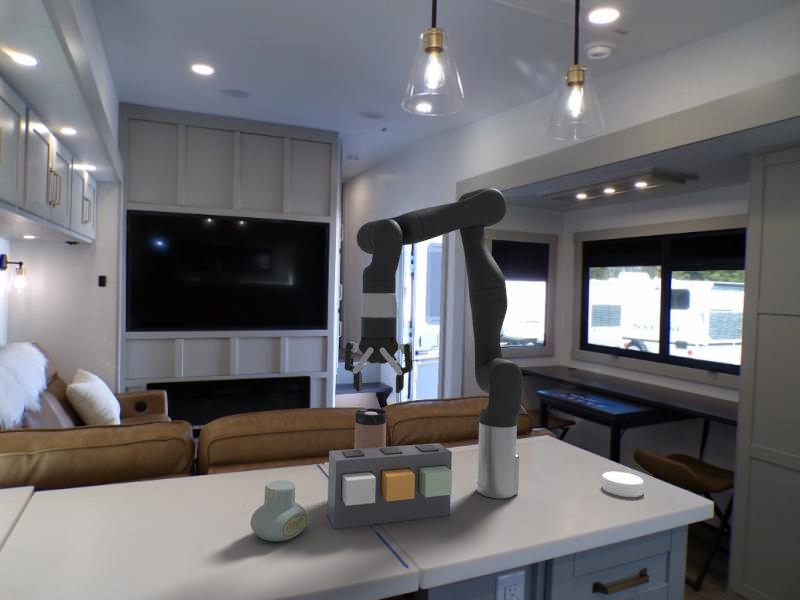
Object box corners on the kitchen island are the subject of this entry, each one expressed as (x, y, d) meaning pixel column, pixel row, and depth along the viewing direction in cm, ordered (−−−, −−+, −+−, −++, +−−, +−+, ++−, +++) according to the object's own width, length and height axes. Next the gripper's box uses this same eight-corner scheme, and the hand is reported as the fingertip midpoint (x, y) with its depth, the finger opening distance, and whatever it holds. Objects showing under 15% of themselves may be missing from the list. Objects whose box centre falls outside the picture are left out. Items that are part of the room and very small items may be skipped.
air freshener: (273, 552, 95) (275, 498, 95) (242, 540, 99) (244, 488, 99) (313, 530, 104) (314, 481, 104) (283, 520, 108) (284, 473, 108)
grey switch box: (437, 503, 120) (439, 441, 120) (449, 515, 113) (451, 450, 113) (327, 515, 111) (329, 449, 111) (334, 529, 105) (336, 459, 105)
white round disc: (601, 494, 130) (601, 480, 130) (601, 481, 139) (602, 468, 139) (644, 501, 126) (645, 486, 126) (642, 487, 135) (642, 474, 135)
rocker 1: (365, 490, 111) (366, 467, 111) (375, 502, 104) (375, 478, 104) (338, 492, 109) (339, 469, 109) (346, 505, 102) (346, 480, 102)
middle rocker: (402, 486, 113) (403, 464, 113) (414, 498, 107) (414, 474, 107) (376, 489, 111) (377, 466, 111) (386, 501, 105) (387, 477, 105)
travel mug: (380, 501, 120) (382, 416, 120) (348, 498, 121) (351, 413, 121) (387, 489, 127) (389, 409, 127) (357, 486, 129) (360, 407, 129)
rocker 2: (438, 483, 116) (438, 461, 116) (451, 494, 110) (452, 471, 110) (413, 485, 114) (414, 463, 114) (425, 497, 108) (426, 473, 108)
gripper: (415, 314, 111) (414, 390, 111) (351, 314, 113) (350, 387, 113) (409, 316, 103) (408, 396, 103) (341, 315, 106) (340, 393, 106)
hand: (378, 391), depth 108 cm, fingers open, 8 cm apart
